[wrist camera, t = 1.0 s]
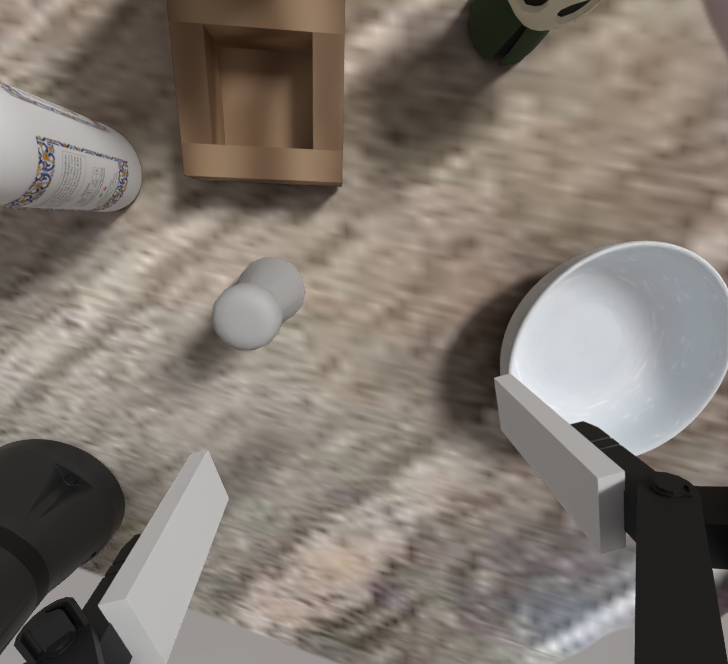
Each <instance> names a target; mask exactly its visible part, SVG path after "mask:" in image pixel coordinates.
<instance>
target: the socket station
mask: <svg viewBox="0 0 728 664" xmlns="http://www.w3.org/2000/svg"><path fill="white" fill-rule="evenodd" d="M167 9H168V19H169V29H170V38H171V48H172V58H173V68H174V78H175V88H176V98H177V108H178V117H179V127H180V137H181V147H182V157H183V167H184V175H185V176H188V177H191V178H195V179H198V180H205V181H227V182H250V183H272V184H295V185H318V186H340V187H342V159H343V99H344V38H345V0H167Z"/></svg>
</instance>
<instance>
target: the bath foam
mask: <svg viewBox="0 0 728 664" xmlns="http://www.w3.org/2000/svg"><path fill="white" fill-rule="evenodd" d="M141 182H142V171H141V166H140V162H139V159H138V157H137V154H136V153H135V151H134V149H133V148H132V146H131V145H130V143H129V142H128V141H127V140H126V139H125V138H124V137H123V136H122V135H121V134H119V133H118V132H117V131H115V130H114V129H112V128H110V127H108V126H106V125H104V124H102V123H100V122H97V121H95V120H93V119H90V118H88V117H86V116H83V115H81V114H78V113H76V112H74V111H71V110H69V109H66V108H64V107H62V106H59V105H57V104H54V103H52V102H49V101H47V100H45V99H42V98H40V97H37V96H35V95H33V94H30V93H28V92H25V91H23V90H21V89H18V88H16V87H13V86H11V85H8V84H6V83H4V82H1V81H0V208H6V209H32V210H59V211H85V212H111V211H116V210H119V209H121V208H124V207H126V206H127V205H129V204H130V203H131V202H132V201H133V200H134V199H135V198H136V196H137V194H138V192H139V190H140V187H141Z"/></svg>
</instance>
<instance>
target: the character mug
mask: <svg viewBox="0 0 728 664" xmlns="http://www.w3.org/2000/svg"><path fill="white" fill-rule="evenodd" d="M602 1H603V0H474V1H473V3H472V7H471V15H470V22H469V30H470V33H471V37H472V40H473V44H474V47H475V48H476V49H477V50H478V52H479V53H480V54H481V55H482V56H483V58H484V59H485V60H488V61H490V60H491V59H492V57H493V56H494V55H495V54H496V53H497V52H498V53H499V54H507V55H506V57H505V58H504V59H503V60H502V61H501V63H500V65H502V66H504V65H508V64H512V63H516V62H519V61H520V60H521V59H523V58H524V57H525V56H526V55H528V54H529V53H530V52H531V51H532V50H534V48H535V47H536V46H537V45H538V44H539V43H540V42H541V41H542V39H543V38H544V37H545V36H546V35H547V33H548V32H549V31H550V30H553V29H558V28H561V27H563V26H566V25H569V24H571V23H574V22H576V21H577V20H579V19H580V18H582V17H584V16H585V15H587V14H589V13H590V12H591V11H592V10H593V9H594V8H595V7H596V6H597V5H598V4H600V3H601V2H602Z"/></svg>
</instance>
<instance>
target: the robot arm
mask: <svg viewBox="0 0 728 664" xmlns="http://www.w3.org/2000/svg"><path fill="white" fill-rule="evenodd" d="M494 382H495V390H496V397H497V404H498V412H499V419H500V427H501V431H502V432H503V433H504V434H505V435H506V437H507V438H508V439H509V440H510V442H511V443H512V444H513V445H514V447H515V448H516V449H517V450H518V452H519V453H520V454H521V455H522V457H523V458H524V459H525V460H526V461H527V463H528V464H529V465H530V466H531V468H532V469H533V470H534V471H535V473H536V474H537V475H538V476H539V478H540V479H541V480H542V481H543V483H544V484H545V485H546V486H547V488H548V489H549V490H550V491H551V492H552V494H553V495H554V496H555V497H556V499H557V500H558V501H559V502H560V504H561V505H562V506H563V507H564V509H565V510H566V511H567V512H568V514H569V515H570V516H571V517H572V519H573V520H574V521H575V522H576V523H577V525H578V526H579V527H580V528H581V530H582V531H583V532H584V533H585V535H586V536H587V537H588V538H589V540H590V541H591V542H592V543H593V545H594V546H595V547H596V548H597V549H598V551H599V552H600V553H605V552H609V551H613V550H616V549H620V548H624V547H626V532H627V533H628V534H629V535H630V537H631V538H632V539H633V540H634V541H635V542H636V597H635V664H728V661H727V655H726V649H725V642H724V637H723V630H722V625H721V618H720V612H719V606H718V600H717V594H716V588H715V582H714V576H713V570H712V568H714V569H728V487H714V486H694V485H692V484H691V483H690V482H689V481H687V480H685V479H683V478H681V477H679V476H677V475H673V474H670V473H666V472H656V471H654V470H653V469H652V468H650V467H649V466H648V465H647V464H645V463H644V462H643V461H641V460H640V459H639V458H638V457H636V456H635V455H634V454H632V453H631V452H630V451H628V450H627V449H626V448H625V447H623V446H622V445H621V446H620V444H619V443H618V442H617V441H616V440H614V439H613V438H610V436H609V435H608V434H606V433H605V432H604V431H603V430H601V429H600V428H599V427H597V426H594V425H592V424H589V423H587V422H584V421H581V422H577V423H573V424H569V423H568V422H567V421H565V420H564V419H563V418H562V417H561V416H560V415H558V414H557V413H556V412H555V411H554V410H553V409H551V408H550V407H549V406H548V405H547V404H546V403H544V402H543V401H542V400H541V399H540V398H539V397H537V396H536V395H535V394H534V393H533V392H531V391H530V390H529V389H528V388H527V387H526V386H524V385H523V384H522V383H521V382H520V381H519V380H517V379H516V378H515V377H514V376H513V375H512V374H507V375H503V376H499V377H495V378H494ZM228 500H229V497H228V495H227V493H226V491H225V488H224V486H223V484H222V481H221V479H220V477H219V474H218V472H217V470H216V467H215V465H214V463H213V461H212V458H211V456H210V454H209V451H208V450H204V451H200V452H196V453H192V454H190V456H189V458H188V459H187V461H186V463H185V464H184V466H183V467H182V469H181V471H180V472H179V474H178V476H177V477H176V479H175V480H174V482H173V484H172V485H171V487H170V489H169V490H168V492H167V494H166V495H165V497H164V498H163V500H162V502H161V503H160V505H159V507H158V508H157V510H156V511H155V513H154V515H153V516H152V518H151V520H150V521H149V523H148V524H147V526H146V528H145V529H144V531H143V533H142V534H138V535H135V536H134V537H133V538H132V539H131V540H130V541H129V542H128V543H127V544H126V545H125V546H124V547H123V548H122V549H121V551H120V552H119V554H118V555H117V557H116V558H115V560H114V562H113V565H112V566H110V568H109V569H108V571H107V572H106V574H105V578H103V579H102V580H101V582H100V583H99V585H98V586H97V588H96V589H95V591H94V592H93V594H92V596H91V597H90V599H89V600H88V602H87V603H86V605H85V606H84V608H83V609H82V610H81V608H80V607H79V605H78V604H77V602H76V601H75V600H74V598H71V597H65V598H62V599H59V600H56V601H55V602H53V603H51V604H49V605H48V606H46V607H44V608H43V609H42V610H41V611H39V612H38V613H37V614H36V615H34V616H33V617H32V618H31V619H30V620H29V621H28V623H27V624H26V625H25V626H24V627H23V628H22V630H21V631H20V633H19V634H18V635H17V637H16V640H15V644H14V646H15V647H16V649H17V650H18V651H19V652H20V654H21V655H22V656H23V658H24V659H25V660H26V661H27V662H26V663H24V664H129V663H130V661H131V659H133V661H134V662H135V664H167V661H168V658H169V656H170V653H171V651H172V648H173V645H174V643H175V640H176V637H177V634H178V632H179V629H180V627H181V624H182V621H183V619H184V616H185V614H186V611H187V608H188V606H189V603H190V600H191V598H192V595H193V592H194V590H195V587H196V584H197V582H198V579H199V576H200V574H201V571H202V568H203V566H204V563H205V561H206V558H207V555H208V553H209V550H210V547H211V545H212V542H213V539H214V537H215V534H216V531H217V529H218V526H219V523H220V521H221V518H222V515H223V513H224V510H225V507H226V505H227V502H228ZM124 509H125V504H124V497H123V493H122V490H121V488H120V485H119V483H118V482H117V480H116V478H115V477H114V476H113V474H112V473H111V472H110V471H109V470H108V468H107V467H106V466H105V465H103V464H102V463H101V462H100V461H99V460H97V459H96V458H95V457H93V456H92V455H90V454H88V453H87V452H85V451H83V450H81V449H79V448H76V447H74V446H71V445H68V444H65V443H61V442H57V441H51V440H42V439H30V440H21V441H16V442H12V443H9V444H6V445H4V446H2V447H0V655H1V653H2V652H3V650H4V649H5V648H6V647H7V645H8V644H9V643H10V641H11V640H12V639H13V638H14V636H15V635H16V634H17V632H18V631H19V630H20V628H21V627H22V626H23V624H24V623H25V622H26V620H27V619H28V618H29V616H30V615H31V614H32V612H33V611H34V610H35V609H36V607H37V606H38V605H39V604H40V602H41V601H42V600H43V598H44V597H45V596H46V595H47V594H48V593H49V592H50V591H51V590H52V589H54V588H55V587H56V586H57V585H59V584H60V583H61V582H62V581H64V580H65V579H66V578H67V577H68V576H69V575H70V574H72V573H73V572H74V571H75V570H76V569H77V568H78V567H79V566H80V565H83V564H84V563H86V562H88V561H89V560H91V559H92V558H93V557H94V556H96V555H97V554H98V553H99V552H100V551H101V550H102V549H103V548H104V547H105V546H106V545H107V543H108V542H109V540H110V539H111V538H112V536H113V535H114V533H115V532H116V531H117V529H118V528H119V526H120V524H121V522H122V519H123V516H124Z"/></svg>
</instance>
